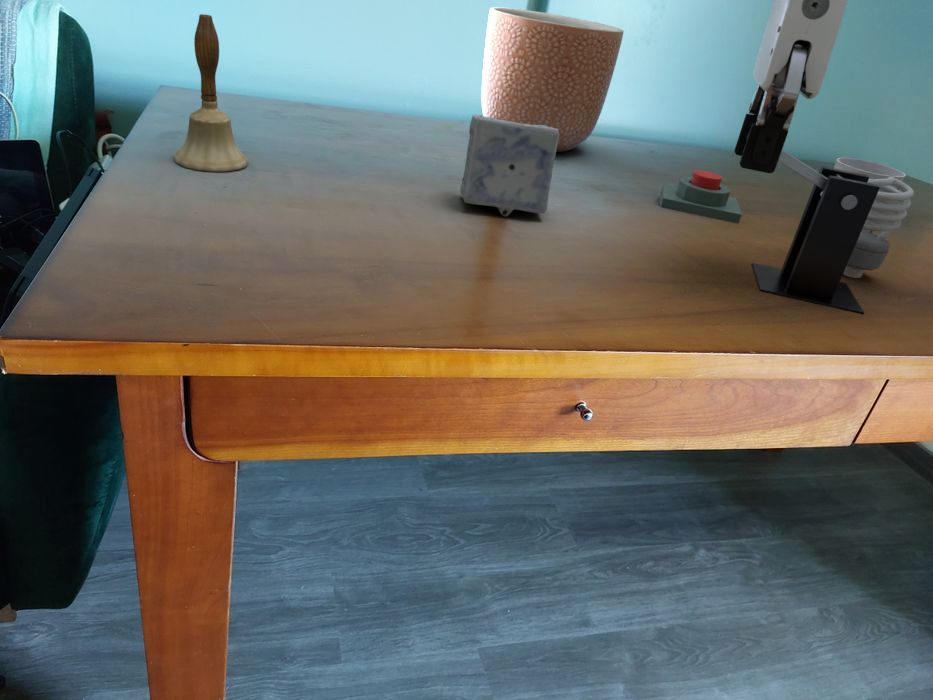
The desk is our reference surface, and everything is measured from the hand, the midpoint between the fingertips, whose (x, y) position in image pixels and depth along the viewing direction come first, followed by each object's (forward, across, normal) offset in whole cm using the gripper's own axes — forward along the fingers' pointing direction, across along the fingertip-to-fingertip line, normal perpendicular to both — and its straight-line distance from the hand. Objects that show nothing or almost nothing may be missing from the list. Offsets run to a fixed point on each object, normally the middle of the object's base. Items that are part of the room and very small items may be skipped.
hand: (753, 161), depth 71 cm
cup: (+13, +25, -18) cm, 33 cm away
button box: (+12, +24, +1) cm, 27 cm away
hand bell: (+12, +1, +59) cm, 60 cm away
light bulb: (+13, +8, -15) cm, 22 cm away
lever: (+1, 0, -4) cm, 4 cm away
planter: (+13, +46, +27) cm, 55 cm away
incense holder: (+13, +8, +25) cm, 29 cm away
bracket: (+12, 0, -9) cm, 15 cm away
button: (+9, +24, +1) cm, 25 cm away
